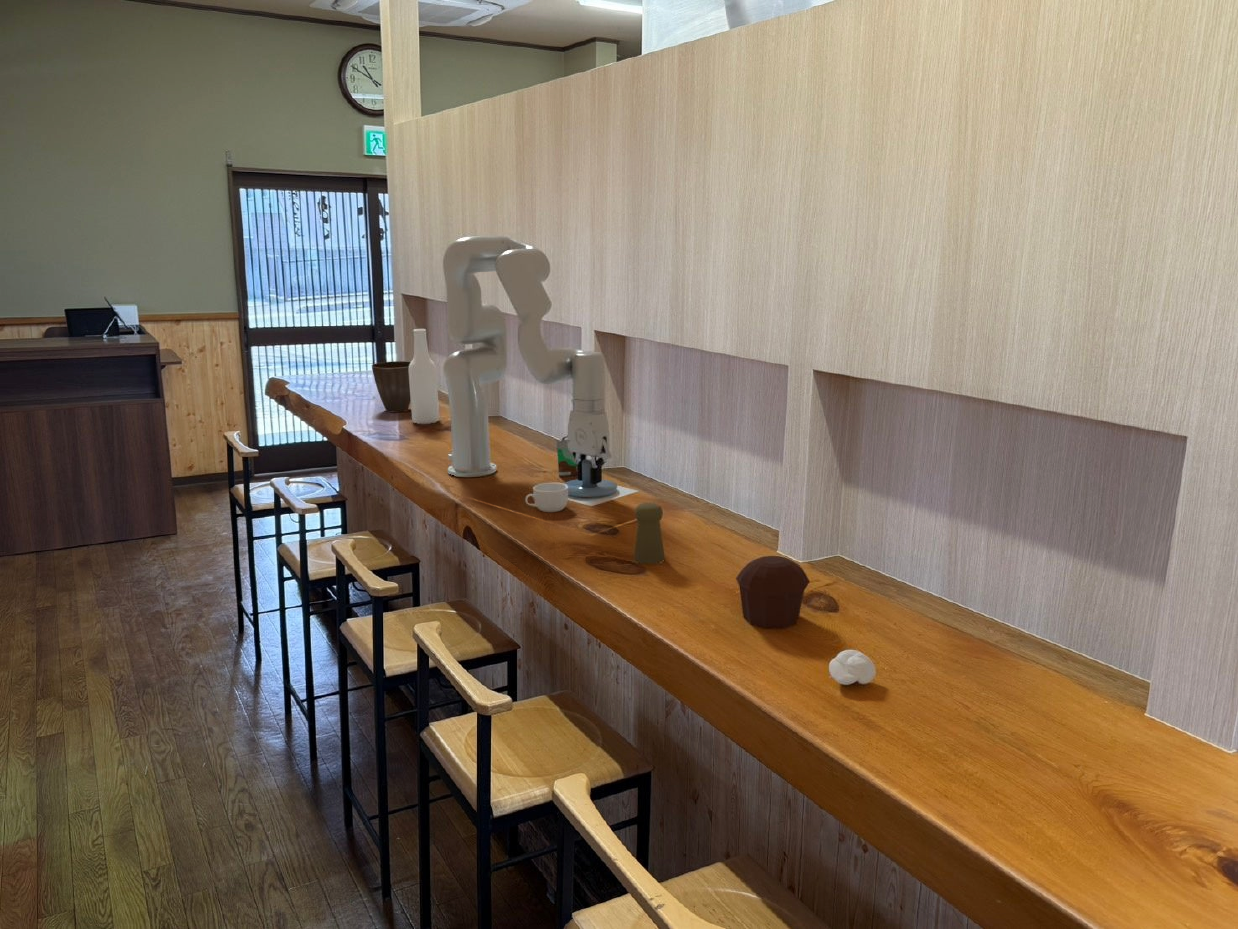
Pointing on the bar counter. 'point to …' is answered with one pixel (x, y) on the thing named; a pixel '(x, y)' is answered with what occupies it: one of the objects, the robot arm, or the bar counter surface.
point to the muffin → (772, 591)
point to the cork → (649, 534)
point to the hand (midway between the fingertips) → (589, 480)
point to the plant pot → (393, 384)
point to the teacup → (549, 496)
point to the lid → (586, 487)
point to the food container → (566, 459)
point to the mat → (602, 497)
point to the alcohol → (423, 382)
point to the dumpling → (852, 668)
